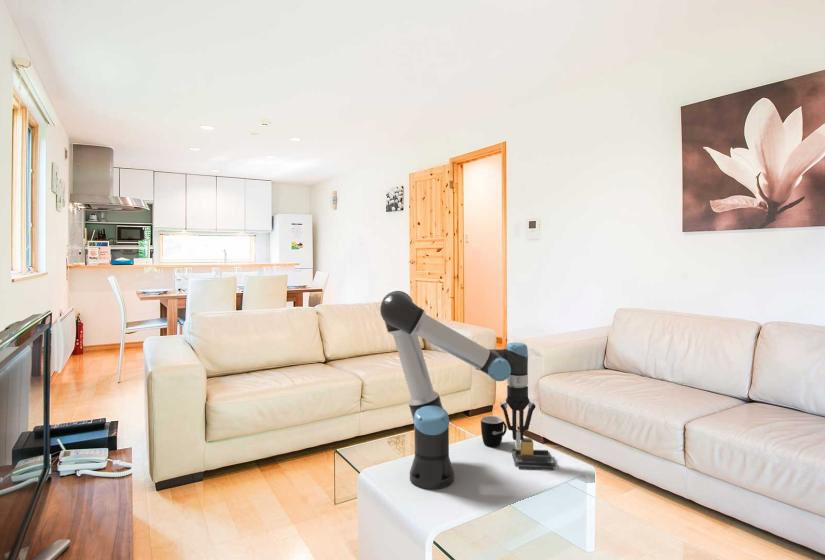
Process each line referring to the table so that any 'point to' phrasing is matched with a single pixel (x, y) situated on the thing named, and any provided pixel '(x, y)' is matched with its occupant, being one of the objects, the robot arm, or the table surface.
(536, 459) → the panel
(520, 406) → the robot arm
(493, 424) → the mug
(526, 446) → the toggle
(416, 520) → the table surface
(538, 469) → the dark grey long bar
